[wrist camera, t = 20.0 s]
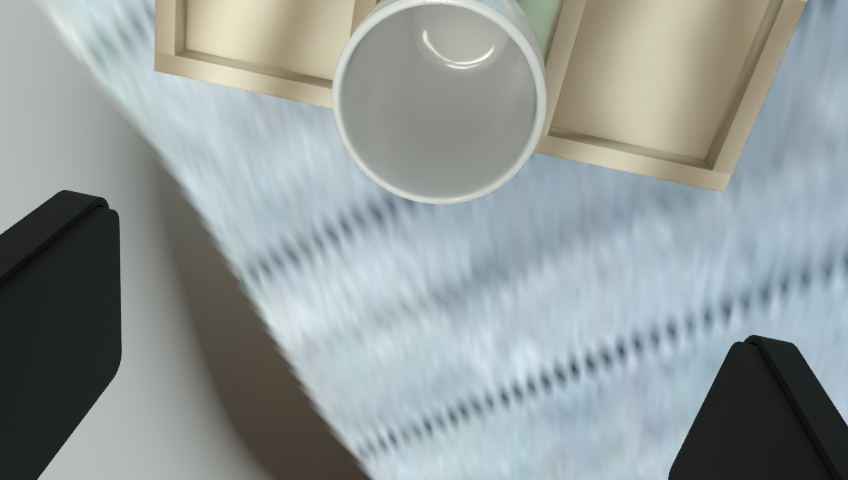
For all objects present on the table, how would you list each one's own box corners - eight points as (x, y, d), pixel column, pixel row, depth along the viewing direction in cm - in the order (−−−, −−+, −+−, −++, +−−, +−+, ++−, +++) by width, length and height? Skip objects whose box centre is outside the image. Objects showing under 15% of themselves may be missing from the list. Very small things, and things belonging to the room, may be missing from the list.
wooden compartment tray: (795, -28, 33) (816, -22, 31) (710, 174, 38) (723, 192, 36) (179, -163, 33) (156, -166, 31) (174, 59, 38) (154, 70, 36)
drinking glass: (451, 110, 37) (419, 244, 24) (368, 3, 35) (282, 85, 22) (561, 30, 34) (594, 131, 21) (479, -91, 32) (458, -62, 19)
